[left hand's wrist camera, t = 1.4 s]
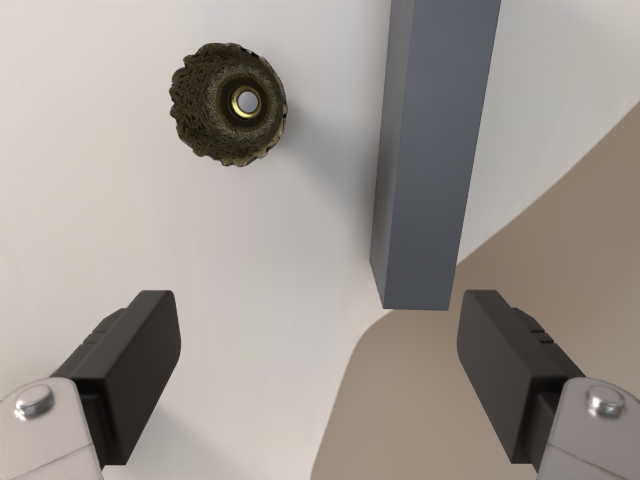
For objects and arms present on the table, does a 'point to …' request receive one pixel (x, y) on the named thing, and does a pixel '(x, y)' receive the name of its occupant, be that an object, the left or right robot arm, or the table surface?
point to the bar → (428, 145)
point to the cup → (227, 104)
